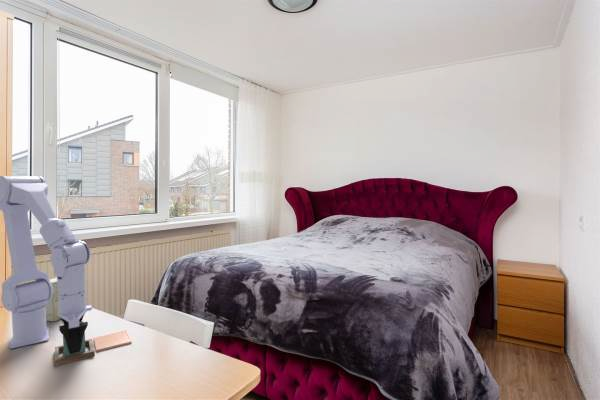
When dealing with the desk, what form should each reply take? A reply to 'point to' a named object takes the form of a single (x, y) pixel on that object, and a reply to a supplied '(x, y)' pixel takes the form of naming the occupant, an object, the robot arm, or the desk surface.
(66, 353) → the teal block
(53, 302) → the skincare box
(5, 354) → the desk surface
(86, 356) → the pocket frame
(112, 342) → the terracotta tile
